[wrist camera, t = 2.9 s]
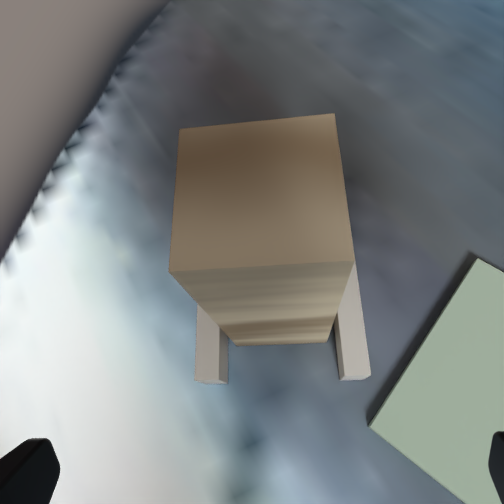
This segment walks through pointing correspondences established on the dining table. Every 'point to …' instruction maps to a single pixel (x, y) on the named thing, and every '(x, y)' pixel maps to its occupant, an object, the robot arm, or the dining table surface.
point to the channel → (346, 335)
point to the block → (263, 227)
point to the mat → (454, 391)
